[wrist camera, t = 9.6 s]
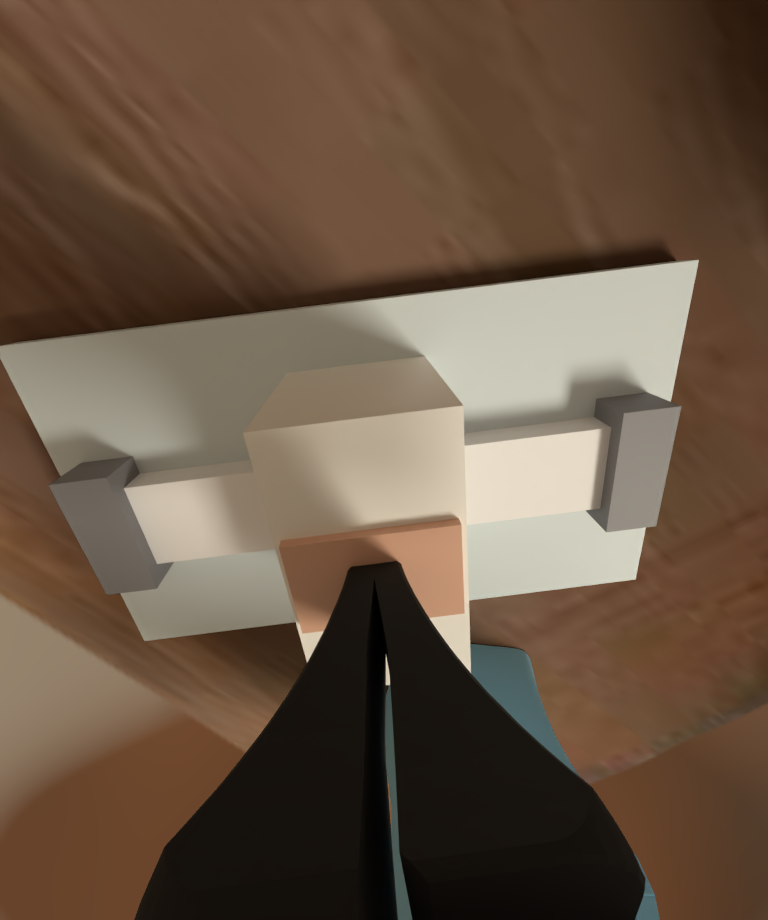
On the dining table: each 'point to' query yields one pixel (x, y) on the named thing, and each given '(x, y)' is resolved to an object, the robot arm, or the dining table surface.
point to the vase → (518, 695)
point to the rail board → (348, 343)
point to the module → (366, 488)
